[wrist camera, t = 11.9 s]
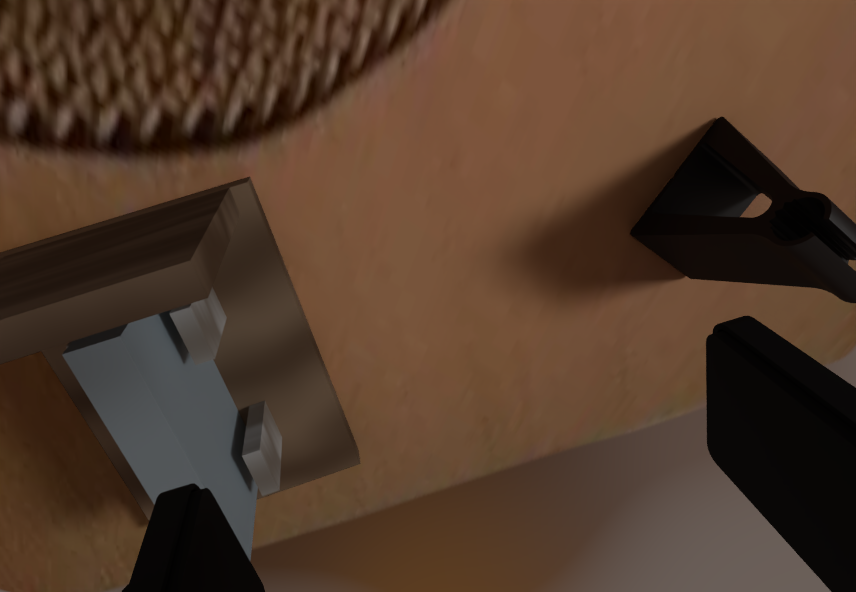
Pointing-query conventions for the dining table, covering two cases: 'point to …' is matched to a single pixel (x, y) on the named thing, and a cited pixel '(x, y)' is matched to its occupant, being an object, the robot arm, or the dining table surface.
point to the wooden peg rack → (188, 322)
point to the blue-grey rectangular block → (168, 414)
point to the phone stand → (748, 222)
